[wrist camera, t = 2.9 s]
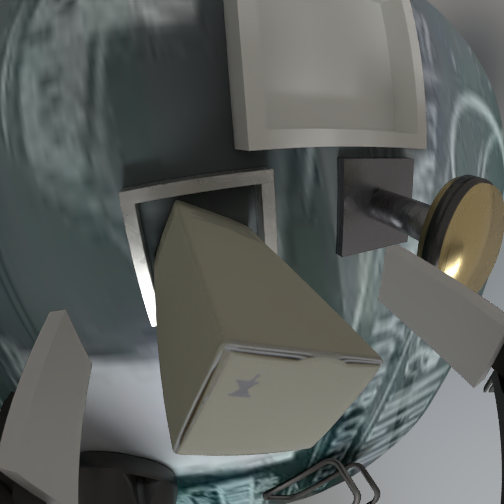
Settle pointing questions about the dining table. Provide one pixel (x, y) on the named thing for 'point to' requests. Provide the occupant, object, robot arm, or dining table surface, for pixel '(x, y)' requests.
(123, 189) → the pin seat
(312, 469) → the chair
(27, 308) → the dining table surface
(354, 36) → the tray
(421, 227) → the mounted dome knob
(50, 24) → the dining table surface
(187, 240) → the box
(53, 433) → the robot arm
